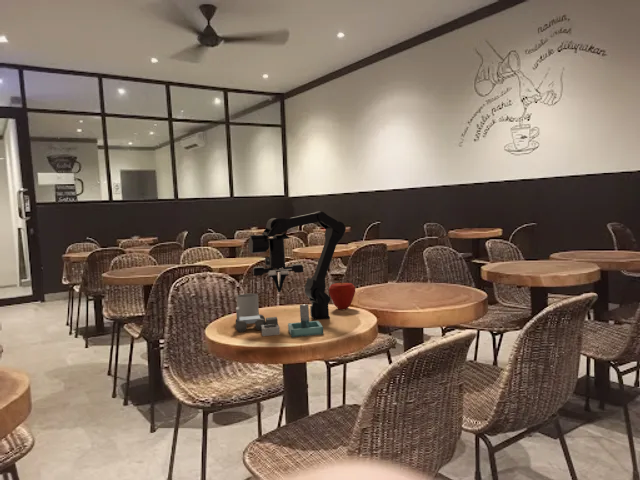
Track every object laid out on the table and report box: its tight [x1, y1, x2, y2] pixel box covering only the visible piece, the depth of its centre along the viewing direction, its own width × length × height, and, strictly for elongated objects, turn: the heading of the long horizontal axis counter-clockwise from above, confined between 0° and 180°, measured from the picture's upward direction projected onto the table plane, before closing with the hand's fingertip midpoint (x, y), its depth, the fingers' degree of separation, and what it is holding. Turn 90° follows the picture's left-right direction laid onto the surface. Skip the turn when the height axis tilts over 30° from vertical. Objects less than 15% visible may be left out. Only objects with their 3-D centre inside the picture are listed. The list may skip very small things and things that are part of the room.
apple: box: [328, 281, 356, 310], centre depth 206 cm, size 11×11×12 cm
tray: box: [287, 320, 324, 338], centre depth 169 cm, size 11×10×2 cm
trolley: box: [235, 306, 266, 333], centre depth 179 cm, size 11×9×8 cm
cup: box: [236, 293, 260, 317], centre depth 193 cm, size 8×8×10 cm
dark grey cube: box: [265, 316, 279, 325], centre depth 177 cm, size 4×4×4 cm
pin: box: [299, 303, 310, 328], centre depth 169 cm, size 3×3×9 cm
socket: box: [261, 323, 281, 337], centre depth 170 cm, size 6×6×2 cm
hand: (279, 292), depth 184 cm, fingers closed
